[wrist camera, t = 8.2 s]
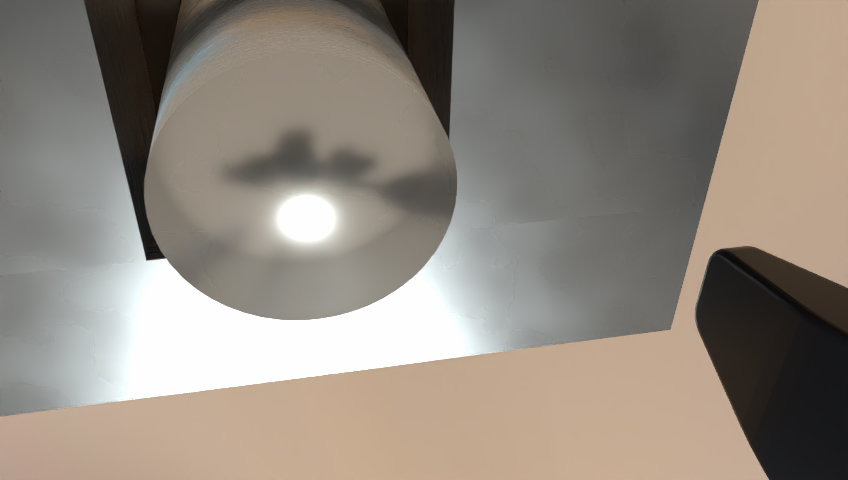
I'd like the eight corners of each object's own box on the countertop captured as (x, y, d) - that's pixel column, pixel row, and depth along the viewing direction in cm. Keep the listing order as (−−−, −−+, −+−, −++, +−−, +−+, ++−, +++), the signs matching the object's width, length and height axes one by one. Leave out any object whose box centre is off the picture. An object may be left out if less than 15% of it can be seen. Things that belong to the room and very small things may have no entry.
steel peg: (377, -82, 15) (464, 43, 9) (381, 108, 17) (452, 303, 11) (164, -76, 14) (111, 62, 8) (197, 121, 16) (173, 336, 11)
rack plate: (708, -358, 13) (861, -383, 10) (601, 232, 20) (670, 329, 17) (-354, -401, 10) (-623, -457, 7) (-48, 299, 17) (-113, 430, 14)
